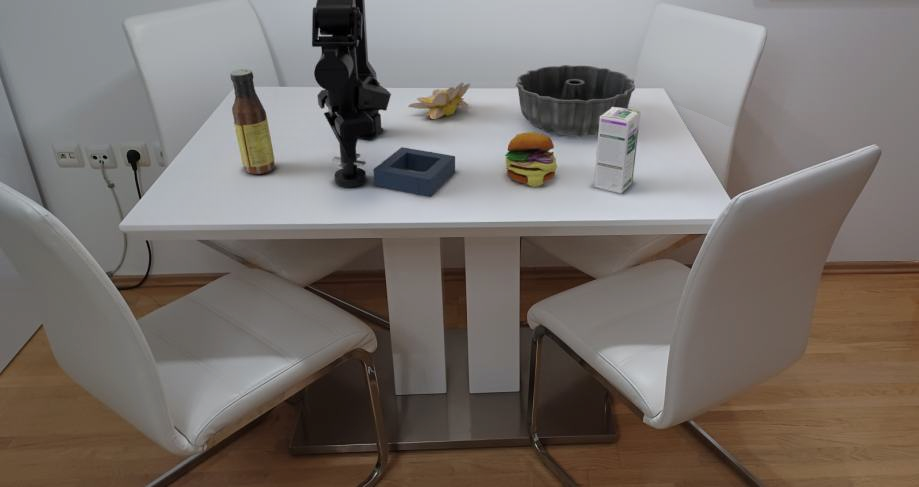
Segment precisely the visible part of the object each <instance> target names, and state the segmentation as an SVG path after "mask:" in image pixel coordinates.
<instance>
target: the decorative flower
mask: <svg viewBox="0 0 919 487" xmlns="http://www.w3.org/2000/svg"><path fill="white" fill-rule="evenodd" d="M464 84H465V83H464V82H460V83H459V84H458V85H457V86H456V87H453V86H452V87H448V88H446V89H440V88H439V89H434V90H432V94H431V95H428V96H427V97H424V96H423V97H422V96H419V97H417V98H416V100H417V101H418V102H413V103H410V104H409V105H408V106H407V107H408V108H412V109H419V110H420V109H421V110H423V109H425V110H426V109H429V111H428V113H427V115H426V116H425V119H432V120H437V119H439V118H441V117H443V116H448V117H449V116H451V115H453V114H454V113H455V112H456V110H457V109H458V108H459V107H461V108H463V109H468V108H469V104H468V103H467V102H466V101H464V100H465V98H463V97H464V95H465V94H466V93H467V92H468V90H469V88H470V86H471V83H466V84H465V85H464Z"/></svg>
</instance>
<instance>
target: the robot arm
mask: <svg viewBox="0 0 919 487" xmlns="http://www.w3.org/2000/svg"><path fill="white" fill-rule="evenodd" d="M365 3H366V2H365V0H316V3H315V6H314V7H313V8H312V17H311V18H312V23H311V24H312V25H311V47H312V48H321V54H320V57H319V59H318V62H317V63H316V65H315V67H314V70H313V75H314V79H315V81H316V83H317V84H318V86H319V87H320V88H321V90H320V92H319V93H317V104H318V106H319V108H320V109H321V110H323V109H325V107H327V111H326V112H323V115H324V117H325V120H326V121H327V123H328V124H329V126H330V129H331V131H332V132H333V134H334V136H335V138H336V139H337V141H338V143H339V141H340V143H341V145H342V147H343V149H344V151H345V153H346V155H347V157H348V158H352V157H354V153H355V148H356V149H357V145H358V144H357V143H358V139H360V140H367V141H371V140H372V139H374V138H375V137H377V136H378V135H379V134H381V133H383V131H384V128H383V127H382V115H381V113H380V111H387V110H388V107H389V103H390V100H391V97H392V94H391V92H390V91H389V90H388V89H387V88H385V87H383V86H382V85H381V83H380V81H378V79H377V78H378V77H377V72H376V70H375V69H374V67H373V66H372V64H371V63H370V61H369V51H368V50H369V48H368V34H367V33H368V32H367V19H366V4H365Z"/></svg>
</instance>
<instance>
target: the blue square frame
mask: <svg viewBox="0 0 919 487" xmlns="http://www.w3.org/2000/svg"><path fill="white" fill-rule="evenodd" d="M372 170H373V184H374V187H377V188H383V189H388V190H393V191H399V192H404V193H410V194H415V195H420V196H426V197H432V195H434V194H435V193H436V192H437V191H438V189H440V188H441V187H442V186H443V185H444V184H445V183H446V182H447V181H448V180H449V179H450V178H451V177H452V176H453V175H454V174H455V173H456V156H455V155H451V154H444V153H439V152H433V151H428V150H421V149H416V148H410V147H403V146H400V148H398V149H397V150H396V151H394V153H392V154H391V155H390V156H388V157H387V158H386V159H384V160H383V161H381V163H380V164H378V165H377V166H376V167H374V168H373V169H372Z"/></svg>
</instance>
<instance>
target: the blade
mask: <svg viewBox="0 0 919 487" xmlns="http://www.w3.org/2000/svg"><path fill="white" fill-rule="evenodd" d="M338 144H339V154H340V155H339V156H334V157H332V158H331V159H332V161H334V162H339V164H338V165H336V167H337V169H338V170H336V171H335V172H334V175H333V177H334V183H335V184H336V186H339V187H343V188H355V187H360V186H362V185H364V184H365V183H366V182H367V172H366V170H365V169H363V168H360V167H358V166H361V167H364V166H365V165H366V161H364V160H359V158H360V157H361V154H360V153H357V147H356V148H355V153H354V157H352V158H348V157H347V155H346V153H345V151H344V149H343V147H342V145H341V143H340V141H339V142H338Z"/></svg>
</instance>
